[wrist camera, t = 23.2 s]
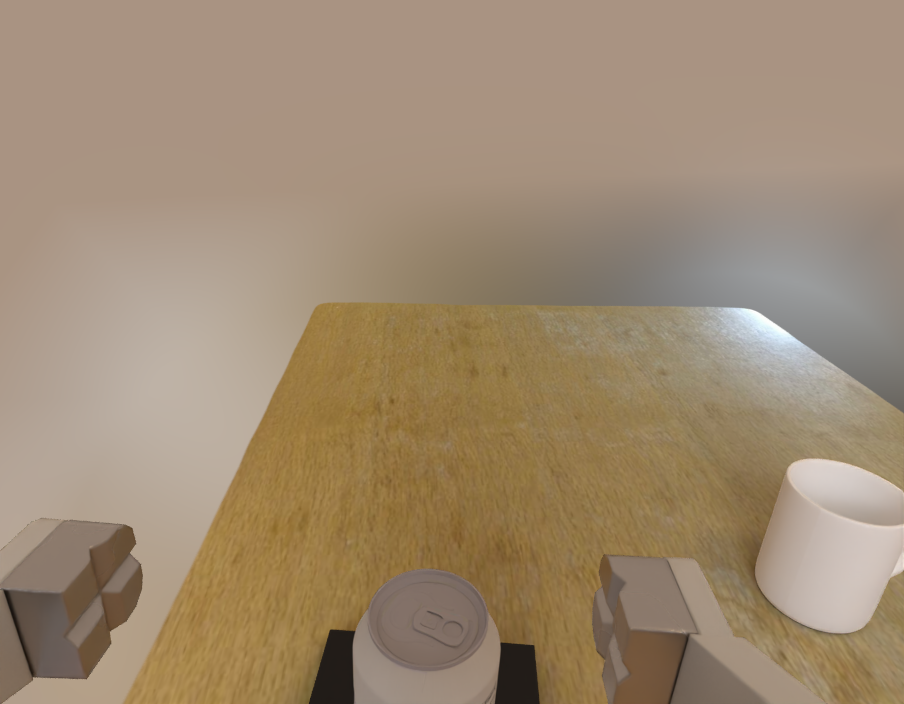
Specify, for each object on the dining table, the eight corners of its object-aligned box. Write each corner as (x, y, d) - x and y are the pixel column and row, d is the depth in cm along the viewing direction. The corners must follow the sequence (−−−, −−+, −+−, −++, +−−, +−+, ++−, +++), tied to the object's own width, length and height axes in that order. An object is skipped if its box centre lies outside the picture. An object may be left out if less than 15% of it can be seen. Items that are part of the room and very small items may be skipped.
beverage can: (394, 697, 36) (396, 542, 31) (501, 744, 33) (522, 586, 29) (330, 813, 30) (320, 644, 25) (456, 880, 27) (471, 709, 23)
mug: (863, 556, 52) (904, 458, 47) (941, 636, 44) (999, 526, 40) (733, 558, 51) (764, 457, 46) (790, 640, 43) (834, 528, 39)
